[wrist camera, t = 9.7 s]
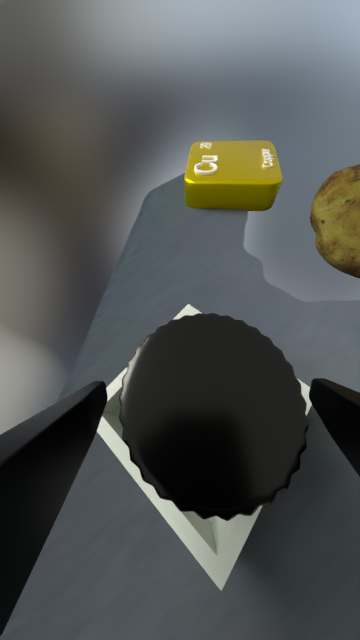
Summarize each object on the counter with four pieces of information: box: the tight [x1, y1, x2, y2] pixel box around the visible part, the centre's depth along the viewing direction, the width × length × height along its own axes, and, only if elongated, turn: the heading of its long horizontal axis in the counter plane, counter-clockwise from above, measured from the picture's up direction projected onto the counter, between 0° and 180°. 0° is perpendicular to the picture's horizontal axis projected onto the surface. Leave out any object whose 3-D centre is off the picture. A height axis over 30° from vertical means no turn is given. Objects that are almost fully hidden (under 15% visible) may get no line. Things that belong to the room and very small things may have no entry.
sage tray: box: [97, 304, 312, 591], centre depth 14 cm, size 12×12×4 cm
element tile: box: [184, 141, 283, 211], centre depth 31 cm, size 15×15×5 cm
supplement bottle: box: [119, 313, 309, 521], centre depth 10 cm, size 7×7×12 cm
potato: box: [310, 165, 360, 278], centre depth 21 cm, size 8×13×8 cm, turn 175°
